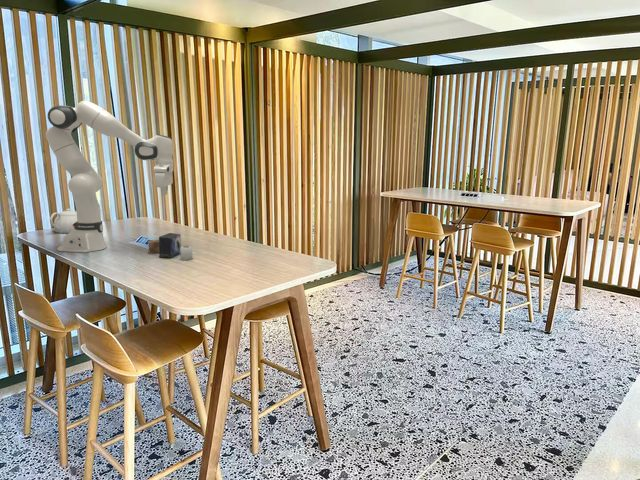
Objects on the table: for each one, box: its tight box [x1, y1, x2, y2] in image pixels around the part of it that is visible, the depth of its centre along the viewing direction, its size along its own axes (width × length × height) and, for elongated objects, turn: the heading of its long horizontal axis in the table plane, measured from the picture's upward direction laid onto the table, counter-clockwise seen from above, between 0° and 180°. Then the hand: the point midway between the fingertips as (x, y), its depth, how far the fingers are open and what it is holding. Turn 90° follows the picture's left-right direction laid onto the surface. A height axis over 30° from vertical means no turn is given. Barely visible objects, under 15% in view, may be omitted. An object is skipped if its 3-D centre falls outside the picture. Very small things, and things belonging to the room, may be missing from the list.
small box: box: [158, 232, 182, 259], centre depth 228 cm, size 11×6×10 cm, turn 168°
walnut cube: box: [147, 239, 159, 255], centre depth 233 cm, size 6×6×6 cm
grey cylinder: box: [179, 245, 193, 261], centre depth 223 cm, size 6×6×6 cm
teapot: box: [49, 208, 77, 234], centre depth 275 cm, size 19×18×14 cm
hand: (164, 194), depth 237 cm, fingers closed
